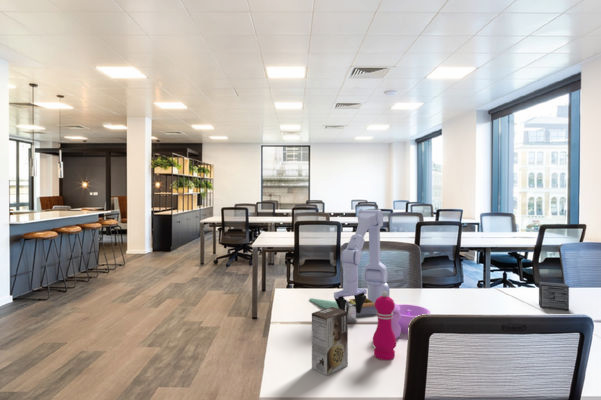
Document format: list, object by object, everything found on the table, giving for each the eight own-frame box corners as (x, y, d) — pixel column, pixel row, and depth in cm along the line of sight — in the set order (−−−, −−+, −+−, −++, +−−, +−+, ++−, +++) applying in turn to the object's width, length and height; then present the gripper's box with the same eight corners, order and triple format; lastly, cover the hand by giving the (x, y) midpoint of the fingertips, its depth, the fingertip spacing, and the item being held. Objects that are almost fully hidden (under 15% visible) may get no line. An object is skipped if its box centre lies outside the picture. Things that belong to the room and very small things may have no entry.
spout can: (353, 318, 154) (353, 299, 153) (357, 321, 149) (358, 302, 149) (342, 319, 152) (343, 300, 152) (347, 322, 148) (347, 303, 148)
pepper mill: (369, 351, 121) (370, 288, 121) (391, 350, 122) (392, 288, 122) (376, 361, 114) (376, 294, 114) (399, 360, 115) (400, 294, 114)
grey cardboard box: (332, 358, 116) (332, 306, 116) (348, 365, 111) (348, 310, 111) (310, 368, 110) (310, 312, 109) (327, 376, 105) (327, 317, 105)
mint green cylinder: (314, 288, 180) (350, 302, 157) (314, 300, 180) (350, 315, 157) (305, 289, 177) (339, 304, 154) (305, 301, 177) (339, 317, 154)
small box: (566, 306, 169) (566, 283, 169) (569, 311, 163) (569, 286, 163) (538, 303, 174) (538, 281, 174) (540, 307, 168) (540, 284, 168)
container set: (400, 317, 155) (400, 285, 154) (436, 326, 144) (437, 292, 144) (365, 334, 136) (365, 297, 136) (404, 346, 126) (405, 306, 126)
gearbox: (369, 307, 168) (369, 296, 168) (381, 314, 158) (381, 302, 158) (345, 309, 164) (346, 298, 164) (356, 316, 155) (356, 305, 155)
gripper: (359, 276, 157) (359, 308, 158) (329, 279, 151) (329, 313, 151) (370, 279, 151) (369, 313, 151) (339, 283, 144) (339, 319, 145)
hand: (350, 314), depth 151 cm, fingers open, 7 cm apart
